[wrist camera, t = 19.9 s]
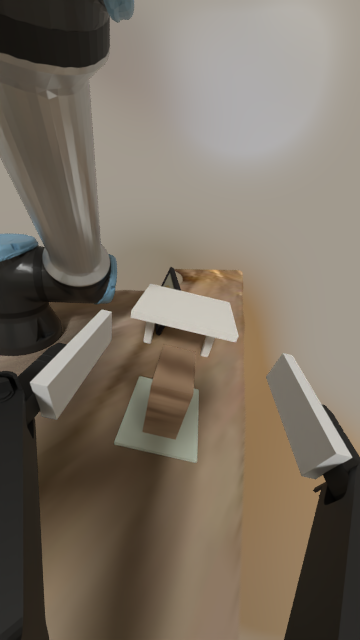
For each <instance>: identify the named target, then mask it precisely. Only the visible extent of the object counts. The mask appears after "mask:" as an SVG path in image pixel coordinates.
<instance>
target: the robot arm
mask: <svg viewBox="0 0 360 640" xmlns="http://www.w3.org/2000/svg"><path fill="white" fill-rule="evenodd" d="M133 11H134V0H0V158H1V160H2V162H3V164H4V166H5V168H6V170H7V172H8V174H9V176H10V178H11V180H12V182H13V184H14V186H15V188H16V190H17V192H18V194H19V196H20V198H21V200H22V202H23V204H24V206H25V208H26V210H27V212H28V214H29V216H30V218H31V220H32V222H33V224H34V226H35V228H36V230H37V232H38V234H39V236H40V238H41V240H42V242H43V244H44V246H45V247H41V246H38V242H37V241H36V239H35V238H34V237H32V236H28V235H24V234H0V355H5V356H17V355H25V354H29V353H33V352H37V351H39V350H42V349H44V348H46V347H48V346H50V345H52V344H53V343H54V342H56V341H57V340H58V339H59V337H60V336H61V333H62V327H61V322H60V320H59V318H58V317H57V315H56V314H55V312H54V311H53V310H52V308H51V307H50V305H49V302H67V303H94V304H100V303H109V302H111V301H112V299H113V297H114V294H115V285H116V279H117V263H116V258H115V257H114V256H113V255H110V254H108V252H107V250H106V249H105V248H104V246H103V245H102V244H101V241H100V240H101V239H100V226H99V212H98V197H97V183H96V169H95V155H94V142H93V127H92V113H91V99H90V85H89V79H90V78H91V77H92V76H93V75H94V74H95V73H96V72H97V71H98V70H99V69H100V68H101V67H102V66H103V65H105V63H106V62H107V60H108V57H109V50H110V39H109V38H110V37H109V36H110V35H109V31H110V28H109V27H110V24H109V23H110V16H111V18H112V20H114V21H116V22H117V23H118V22H120V20H123V19H125V20H129V19H130V18H131V17H132V15H133ZM111 340H112V312H111V311H106V310H101V311H100V312H99V313H98V314H97V315H96V316H95V317H94V318H93V319H92V320H91V321H90V322H89V323H88V324H87V325H86V326H85V327H84V328H83V329H82V330H81V331H80V332H79V333H78V334H77V335H76V336H75V337H74V338H73V339H72V340H71V341H70V342H69V343H68V344H62V343H57V344H55V345H53V346H51V347H50V348H48V349H47V350H46V351H45V352H44V353H43V354H42V355H41V356H40V357H39V358H38V359H37V360H36V361H34V362H33V363H32V364H31V365H30V366H29V367H28V368H27V369H26V370H24V371H23V372H22V373H21V374H20V375H19V376H18V377H17V374H15V373H13V372H10V371H2V372H0V640H49V635H48V630H47V626H46V620H45V606H44V586H43V566H42V546H41V526H40V507H39V487H38V467H37V447H36V427H35V418H34V417H35V416H36V415H37V414H38V412H39V411H40V412H41V415H42V417H46V418H51V419H55V420H57V419H58V417H59V416H60V415H61V413H62V412H63V410H64V409H65V407H66V406H67V404H68V403H69V401H70V400H71V399H72V397H73V396H74V394H75V393H76V391H77V390H78V388H79V387H80V385H81V384H82V383H83V381H84V380H85V378H86V377H87V375H88V374H89V372H90V371H91V369H92V368H93V367H94V365H95V364H96V362H97V361H98V359H99V358H100V356H101V355H102V353H103V352H104V351H105V349H106V348H107V346H108V345H109V343H110V342H111ZM266 378H267V381H268V384H269V387H270V390H271V392H272V395H273V398H274V401H275V403H276V406H277V409H278V412H279V414H280V417H281V420H282V423H283V426H284V428H285V431H286V434H287V437H288V440H289V442H290V445H291V448H292V451H293V454H294V456H295V459H296V462H297V465H298V467H299V470H300V473H301V476H304V477H308V478H313V479H317V478H318V477H320V476H322V475H323V476H324V478H325V480H326V482H325V483H323V484H321V485H319V486H317V487H315V489H314V490H313V491H314V492H318V491H319V490H321V492H320V495H319V501H318V505H317V508H316V512H315V517H314V521H313V525H312V529H311V533H310V537H309V541H308V545H307V549H306V554H305V557H304V561H303V565H302V569H301V574H300V577H299V581H298V586H297V590H296V594H295V598H294V602H293V606H292V610H291V614H290V618H289V622H288V626H287V630H286V634H285V639H284V640H360V457H359V455H358V454H357V452H356V450H355V449H354V447H353V445H352V444H351V442H350V441H349V439H348V437H347V436H346V434H345V433H344V432H343V429H342V428H341V426H340V425H339V423H338V421H337V420H336V418H335V416H334V415H333V413H332V412H331V411H330V410H329V409H328V408H327V407H326V406H325V405H322V404H321V403H320V401H319V399H318V398H317V396H316V394H315V393H314V391H313V389H312V388H311V386H310V384H309V382H308V381H307V379H306V377H305V376H304V374H303V372H302V371H301V369H300V367H299V366H298V364H297V362H296V360H295V359H294V357H293V355H289V354H285V353H283V354H282V355H281V356H280V358H279V359H278V361H277V362H276V363H275V365H274V366H273V368H272V369H271V371H270V372H269V373H268V375H267V376H266Z"/></svg>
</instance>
